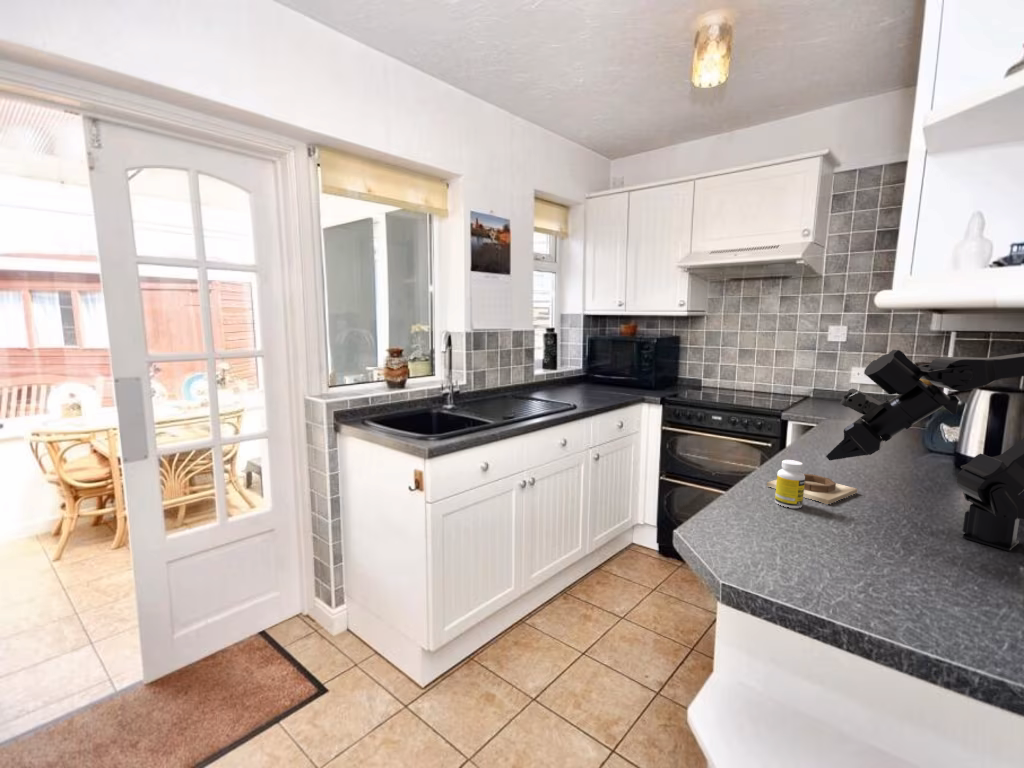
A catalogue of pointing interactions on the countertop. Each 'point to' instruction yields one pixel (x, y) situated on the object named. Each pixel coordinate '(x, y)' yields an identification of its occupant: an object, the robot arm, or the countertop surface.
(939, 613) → the countertop surface
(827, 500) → the socket board
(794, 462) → the supplement bottle
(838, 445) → the robot arm
